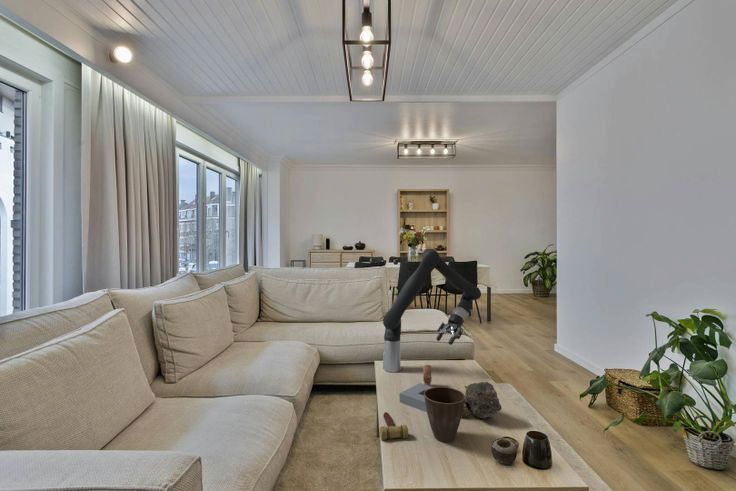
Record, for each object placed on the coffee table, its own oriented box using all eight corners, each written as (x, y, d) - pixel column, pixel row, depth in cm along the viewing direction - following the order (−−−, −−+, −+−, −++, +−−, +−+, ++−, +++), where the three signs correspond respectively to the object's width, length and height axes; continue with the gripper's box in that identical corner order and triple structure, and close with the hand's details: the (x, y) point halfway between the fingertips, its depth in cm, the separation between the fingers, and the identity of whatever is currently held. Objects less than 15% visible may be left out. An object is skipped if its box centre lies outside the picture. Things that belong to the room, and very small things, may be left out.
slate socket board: (399, 401, 167) (399, 393, 167) (419, 391, 178) (419, 383, 178) (432, 414, 154) (432, 405, 154) (452, 402, 166) (452, 393, 166)
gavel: (373, 407, 155) (396, 406, 156) (373, 419, 154) (396, 417, 156) (381, 429, 134) (408, 427, 135) (381, 442, 134) (408, 440, 135)
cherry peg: (421, 385, 185) (421, 366, 185) (426, 383, 188) (426, 364, 188) (428, 388, 182) (428, 368, 182) (433, 385, 185) (433, 366, 185)
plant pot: (436, 422, 147) (436, 383, 147) (471, 435, 138) (471, 393, 137) (416, 438, 136) (416, 396, 135) (453, 453, 126) (453, 407, 126)
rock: (497, 375, 153) (465, 372, 149) (508, 411, 143) (474, 409, 139) (475, 391, 166) (445, 389, 162) (483, 425, 156) (452, 424, 152)
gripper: (444, 311, 202) (430, 335, 195) (465, 315, 190) (450, 340, 184) (451, 319, 205) (437, 343, 198) (471, 323, 193) (457, 349, 187)
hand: (443, 342), depth 191 cm, fingers open, 8 cm apart
